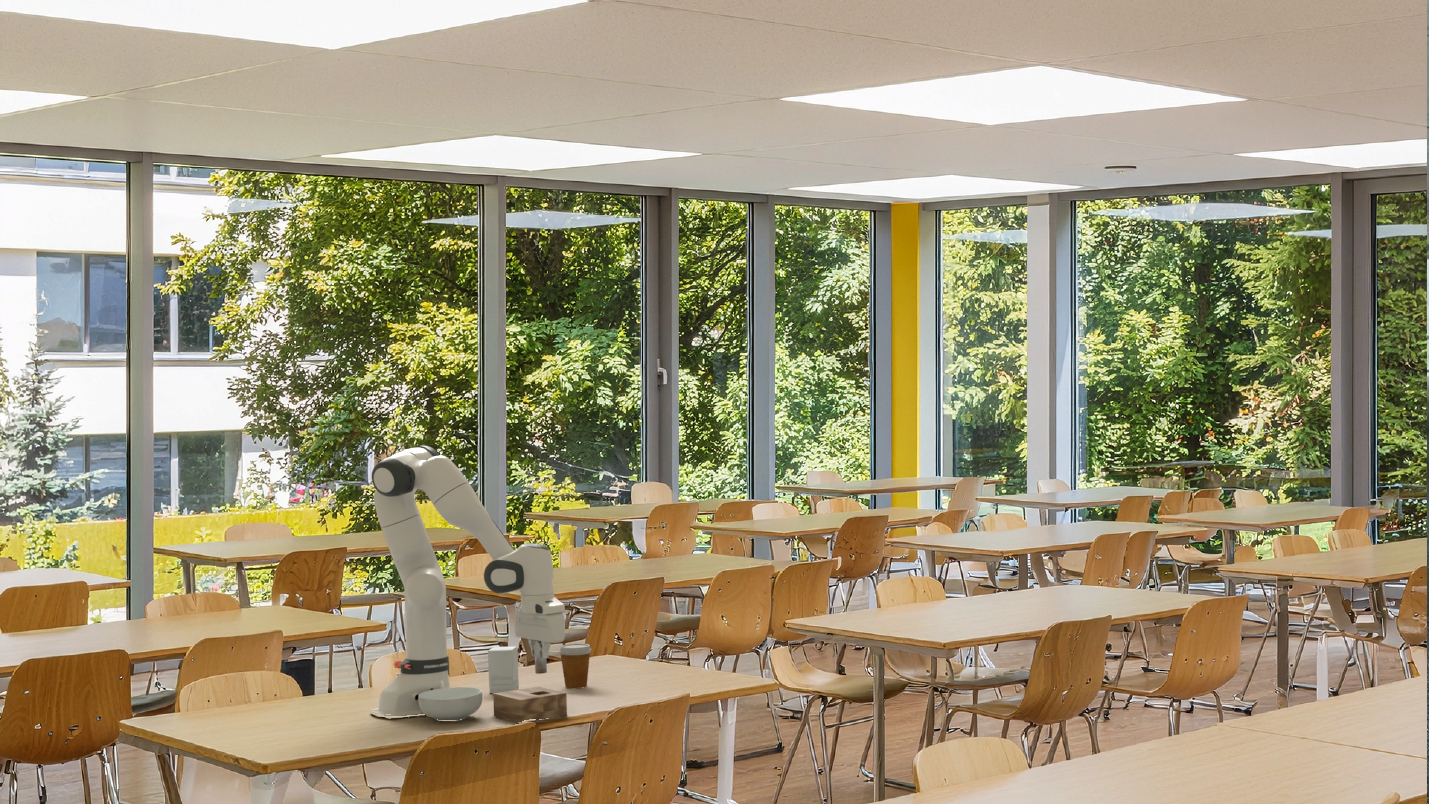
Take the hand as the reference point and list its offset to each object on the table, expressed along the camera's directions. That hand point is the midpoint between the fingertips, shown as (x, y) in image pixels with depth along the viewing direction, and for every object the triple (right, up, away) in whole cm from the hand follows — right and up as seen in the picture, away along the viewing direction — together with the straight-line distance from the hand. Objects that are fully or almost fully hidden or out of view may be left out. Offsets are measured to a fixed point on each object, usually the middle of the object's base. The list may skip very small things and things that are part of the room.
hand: (540, 656), depth 392 cm
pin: (0, -4, 0) cm, 4 cm away
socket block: (-3, -16, 0) cm, 16 cm away
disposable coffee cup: (+5, -16, +43) cm, 47 cm away
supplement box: (-15, -17, +39) cm, 45 cm away
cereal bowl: (-23, -17, -1) cm, 29 cm away
